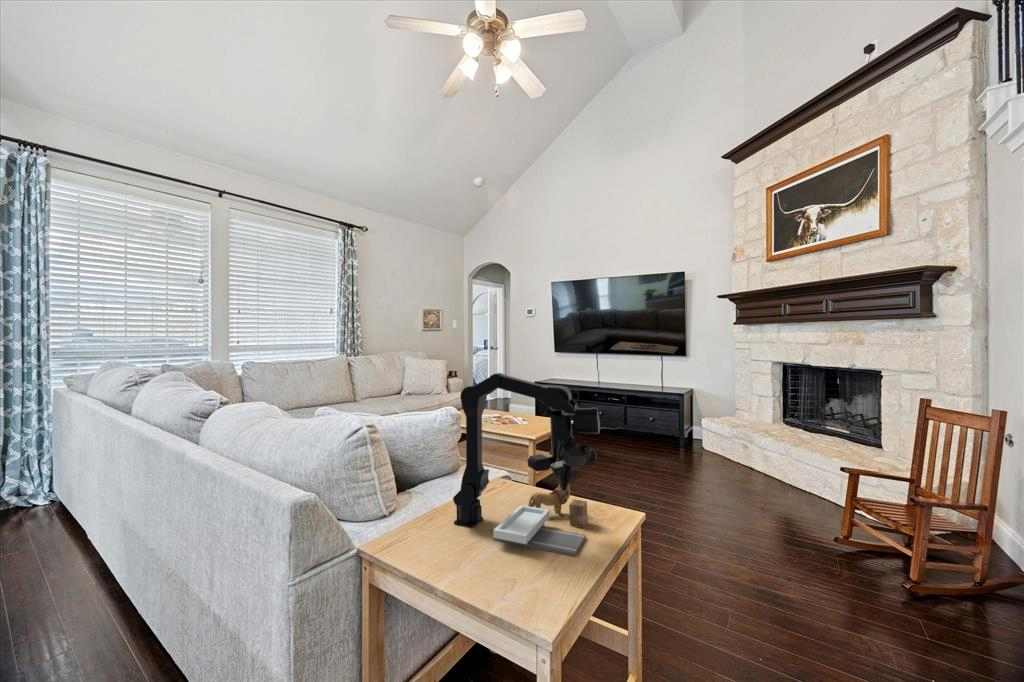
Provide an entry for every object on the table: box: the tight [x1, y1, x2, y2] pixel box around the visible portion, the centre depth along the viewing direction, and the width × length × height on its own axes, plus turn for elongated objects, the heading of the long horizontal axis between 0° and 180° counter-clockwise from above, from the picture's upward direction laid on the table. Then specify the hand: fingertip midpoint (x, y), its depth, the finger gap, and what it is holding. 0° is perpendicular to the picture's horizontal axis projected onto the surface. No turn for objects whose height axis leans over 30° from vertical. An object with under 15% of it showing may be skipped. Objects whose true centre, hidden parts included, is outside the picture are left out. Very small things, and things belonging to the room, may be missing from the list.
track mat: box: [493, 526, 587, 557], centre depth 108 cm, size 22×10×1 cm, turn 65°
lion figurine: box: [527, 483, 571, 516], centre depth 123 cm, size 15×5×9 cm, turn 104°
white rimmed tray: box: [493, 504, 551, 544], centre depth 110 cm, size 9×17×4 cm, turn 155°
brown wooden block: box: [568, 499, 588, 529], centre depth 116 cm, size 4×4×6 cm
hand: (563, 490), depth 111 cm, fingers closed
